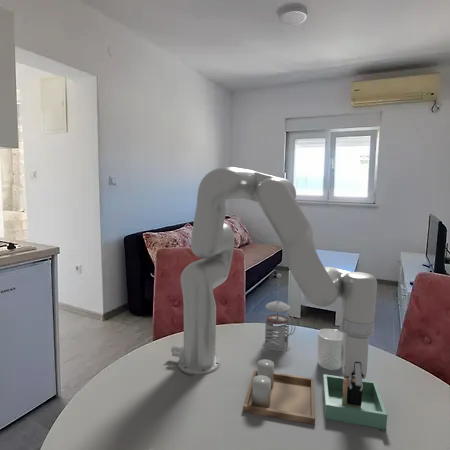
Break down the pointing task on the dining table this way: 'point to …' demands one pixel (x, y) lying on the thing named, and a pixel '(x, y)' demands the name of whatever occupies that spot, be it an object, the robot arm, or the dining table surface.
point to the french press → (281, 340)
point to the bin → (366, 415)
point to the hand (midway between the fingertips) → (352, 395)
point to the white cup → (329, 348)
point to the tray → (286, 399)
